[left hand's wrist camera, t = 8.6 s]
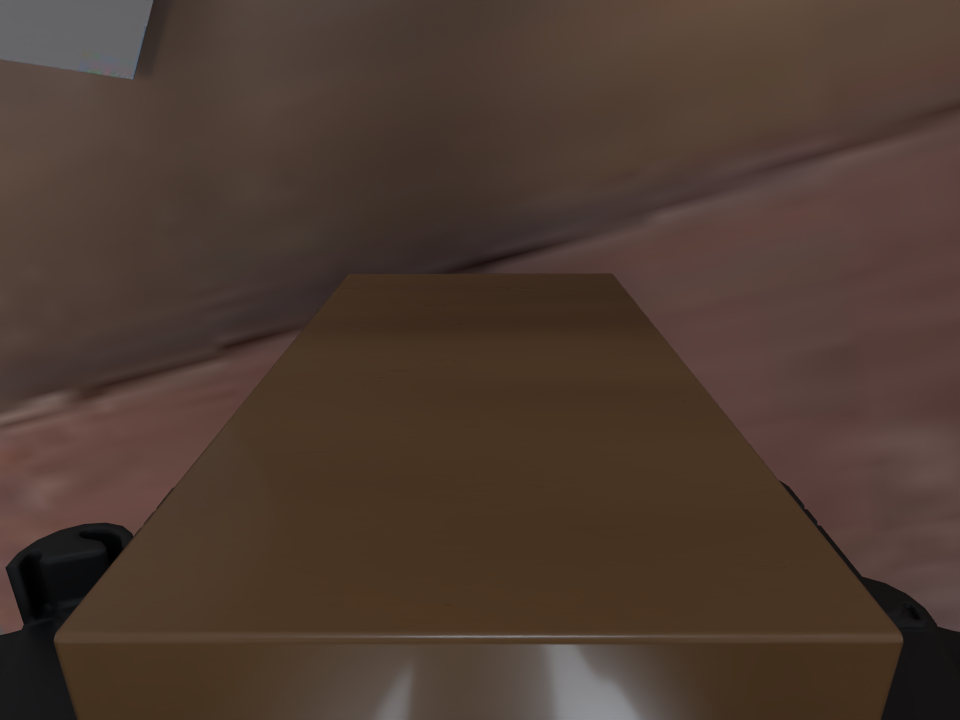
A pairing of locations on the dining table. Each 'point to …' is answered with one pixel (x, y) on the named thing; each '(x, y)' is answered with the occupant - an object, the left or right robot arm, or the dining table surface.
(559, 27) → the dining table surface
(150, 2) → the electronic device
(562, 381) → the box
